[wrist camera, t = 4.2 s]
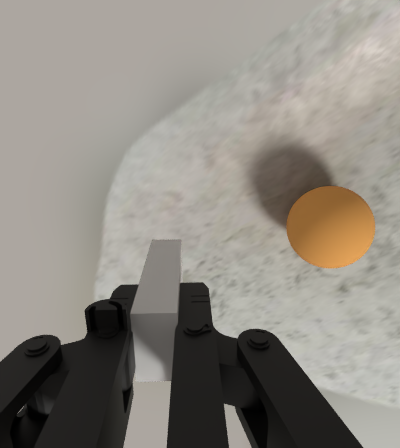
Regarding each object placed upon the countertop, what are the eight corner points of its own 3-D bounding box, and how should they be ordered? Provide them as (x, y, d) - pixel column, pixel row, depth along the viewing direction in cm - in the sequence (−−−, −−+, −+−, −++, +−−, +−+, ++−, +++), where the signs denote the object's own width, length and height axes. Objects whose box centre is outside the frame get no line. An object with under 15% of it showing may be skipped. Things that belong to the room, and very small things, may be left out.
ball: (280, 179, 24) (305, 197, 18) (356, 178, 24) (401, 196, 19) (275, 249, 25) (296, 284, 20) (345, 248, 26) (384, 283, 20)
